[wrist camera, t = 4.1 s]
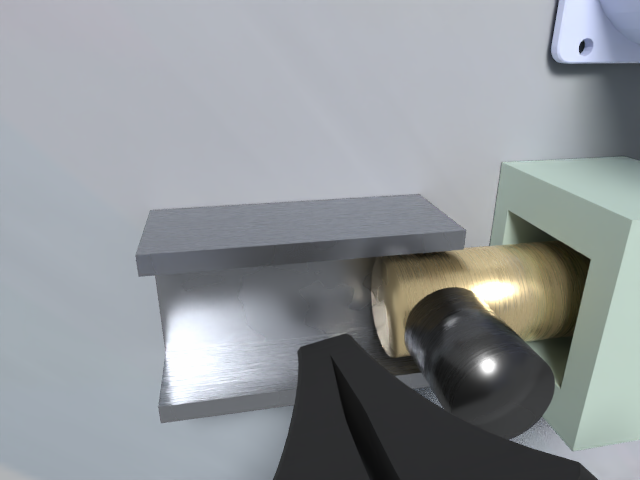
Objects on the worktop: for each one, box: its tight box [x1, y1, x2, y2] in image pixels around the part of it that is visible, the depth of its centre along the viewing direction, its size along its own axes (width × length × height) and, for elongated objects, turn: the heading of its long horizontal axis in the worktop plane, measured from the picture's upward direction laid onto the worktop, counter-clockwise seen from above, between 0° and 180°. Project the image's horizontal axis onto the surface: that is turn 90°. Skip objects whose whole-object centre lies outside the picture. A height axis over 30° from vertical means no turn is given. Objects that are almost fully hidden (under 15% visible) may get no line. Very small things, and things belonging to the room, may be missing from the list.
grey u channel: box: [136, 194, 466, 423], centre depth 16 cm, size 9×5×4 cm, turn 90°
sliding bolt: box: [371, 240, 591, 440], centre depth 15 cm, size 9×3×6 cm, turn 90°
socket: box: [490, 156, 640, 451], centre depth 17 cm, size 5×7×6 cm
